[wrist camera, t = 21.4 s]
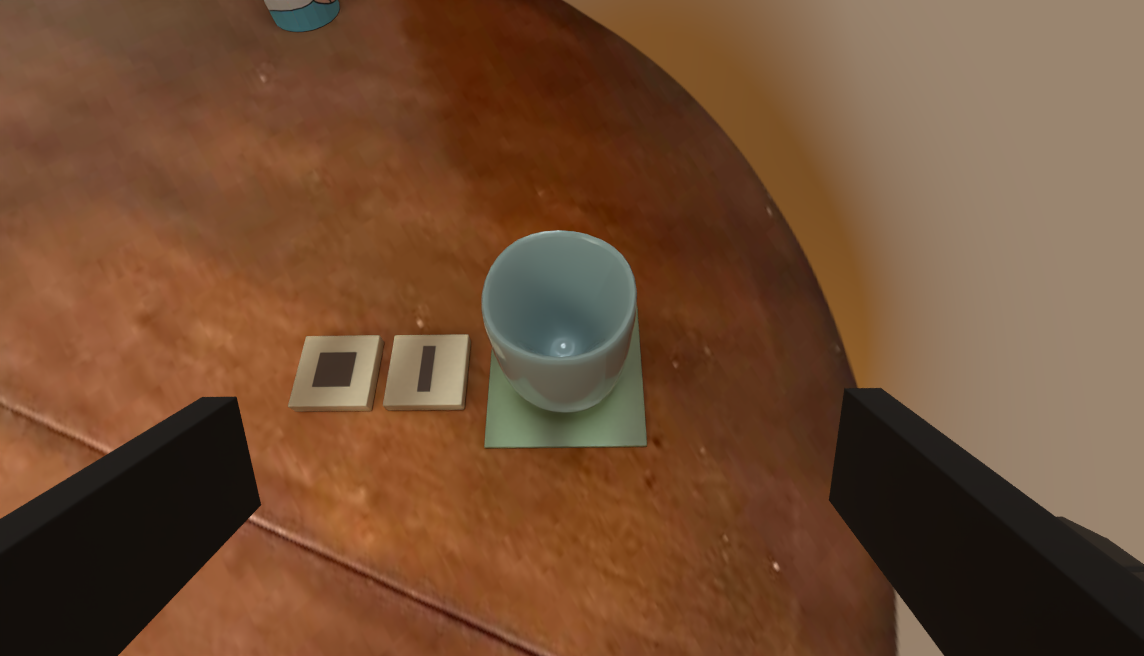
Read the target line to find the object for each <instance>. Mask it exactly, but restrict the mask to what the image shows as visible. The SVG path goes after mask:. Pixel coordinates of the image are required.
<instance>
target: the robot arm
mask: <svg viewBox="0 0 1144 656" xmlns="http://www.w3.org/2000/svg"><path fill="white" fill-rule="evenodd" d="M829 501H830V502H831V504H832V505H833V506H834V508H835V509H836V510H837V512H838V513H839V515H840V516H841V517H842V519H843V520H844V521H845V523H846V524H847V525H848V527H849V528H850V529H851V531H852V532H853V533H854V535H855V536H856V537H857V539H858V540H859V541H860V543H861V544H862V545H863V547H864V548H865V550H866V551H867V552H868V554H869V555H870V556H871V558H872V559H873V560H874V562H875V563H876V564H877V566H878V567H879V568H880V570H881V571H882V572H883V574H884V575H885V576H886V578H887V579H888V581H889V582H890V583H891V585H892V586H893V587H894V589H895V590H896V591H897V593H898V594H899V595H900V597H901V598H902V599H903V601H904V602H905V603H906V605H907V606H908V607H909V609H910V610H911V611H912V613H913V614H914V615H915V617H916V618H917V620H918V621H919V622H920V624H921V625H922V626H923V628H924V629H925V630H926V632H927V633H928V634H929V636H930V637H931V638H932V640H933V641H934V642H935V644H936V645H937V646H938V648H939V649H940V651H941V652H942V653H943V655H944V656H1144V564H1143V563H1141V562H1140V561H1138V560H1137V559H1135V558H1134V557H1133V556H1131V555H1130V554H1128V553H1127V552H1126V551H1124V550H1123V549H1121V548H1120V547H1119V546H1117V545H1116V544H1114V543H1113V542H1111V541H1110V540H1109V539H1107V538H1105V537H1103V536H1101V535H1099V534H1097V533H1095V532H1093V531H1091V530H1088V529H1086V528H1084V527H1082V526H1080V525H1078V524H1076V523H1074V522H1072V521H1070V520H1068V519H1066V518H1064V517H1055V516H1054V515H1052V514H1051V513H1050V512H1048V511H1047V510H1046V509H1044V508H1043V507H1042V506H1040V505H1039V504H1038V503H1036V502H1035V501H1034V500H1032V499H1031V498H1029V497H1028V496H1027V495H1025V494H1024V493H1023V492H1021V491H1020V490H1019V489H1017V488H1016V487H1015V486H1013V485H1012V484H1010V483H1009V482H1008V481H1006V480H1005V479H1004V478H1002V477H1001V476H1000V475H998V474H997V473H996V472H994V471H993V470H991V469H990V468H989V467H987V466H986V465H985V464H983V463H982V462H981V461H979V460H978V459H977V458H975V457H974V456H972V455H971V454H970V453H968V452H967V451H966V450H964V449H963V448H962V447H960V446H959V445H958V444H956V443H955V442H953V441H952V440H951V439H949V438H948V437H947V436H945V435H944V434H943V433H941V432H940V431H939V430H937V429H936V428H934V427H933V426H932V425H930V424H929V423H928V422H926V421H925V420H924V419H922V418H921V417H920V416H918V415H917V414H915V413H914V412H913V411H911V410H910V409H909V408H907V407H906V406H905V405H903V404H902V403H901V402H899V401H898V400H896V399H895V398H894V397H892V396H891V395H890V394H888V393H887V392H886V391H884V390H883V389H882V388H849V389H844V395H843V402H842V410H841V417H840V424H839V431H838V438H837V446H836V453H835V460H834V467H833V474H832V482H831V489H830V496H829ZM260 506H261V502H260V498H259V494H258V489H257V485H256V480H255V476H254V472H253V467H252V463H251V458H250V454H249V450H248V445H247V441H246V436H245V432H244V427H243V423H242V419H241V414H240V410H239V405H238V401H237V397H202V398H200V399H198V400H197V401H195V402H193V403H192V404H190V405H188V406H187V407H185V408H183V409H182V410H180V411H178V412H177V413H175V414H173V415H172V416H170V417H168V418H167V419H165V420H163V421H162V422H160V423H158V424H157V425H155V426H154V427H152V428H150V429H149V430H147V431H145V432H144V433H142V434H140V435H139V436H137V437H135V438H134V439H132V440H130V441H129V442H127V443H125V444H124V445H122V446H120V447H119V448H117V449H115V450H114V451H112V452H110V453H109V454H107V455H106V456H104V457H102V458H101V459H99V460H97V461H96V462H94V463H92V464H91V465H89V466H87V467H86V468H84V469H82V470H81V471H79V472H77V473H76V474H74V475H72V476H71V477H69V478H67V479H66V480H64V481H62V482H61V483H59V484H58V485H56V486H54V487H53V488H51V489H49V490H48V491H46V492H44V493H43V494H41V495H39V496H38V497H36V498H34V499H33V500H31V501H29V502H28V503H26V504H24V505H23V506H21V507H19V508H18V509H16V510H14V511H13V512H11V513H10V514H8V515H6V516H5V517H3V518H1V519H0V656H118V655H119V654H120V653H121V652H122V651H123V650H124V649H125V648H126V647H127V645H128V644H129V643H130V642H131V641H132V640H133V639H134V638H135V637H136V636H137V635H138V634H139V633H140V632H141V631H142V630H143V629H144V628H145V627H146V626H147V624H148V623H149V622H150V621H151V620H152V619H153V618H154V617H155V616H156V615H157V614H158V613H159V612H160V611H161V610H162V609H163V608H164V607H165V606H166V604H167V603H168V602H169V601H170V600H171V599H172V598H173V597H174V596H175V595H176V594H177V593H178V592H179V591H180V590H181V589H182V588H183V587H184V586H185V585H186V583H187V582H188V581H189V580H190V579H191V578H192V577H193V576H194V575H195V574H196V573H197V572H198V571H199V570H200V569H201V568H202V567H203V566H204V565H205V563H206V562H207V561H208V560H209V559H210V558H211V557H212V556H213V555H214V554H215V553H216V552H217V551H218V550H219V549H220V548H221V547H222V546H223V545H224V543H225V542H226V541H227V540H228V539H229V538H230V537H231V536H232V535H233V534H234V533H235V532H236V531H237V530H238V529H239V528H240V527H241V526H242V525H243V524H244V522H245V521H246V520H247V519H248V518H249V517H250V516H251V515H252V514H253V513H254V512H255V511H256V510H257V509H258V508H259V507H260Z"/></svg>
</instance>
